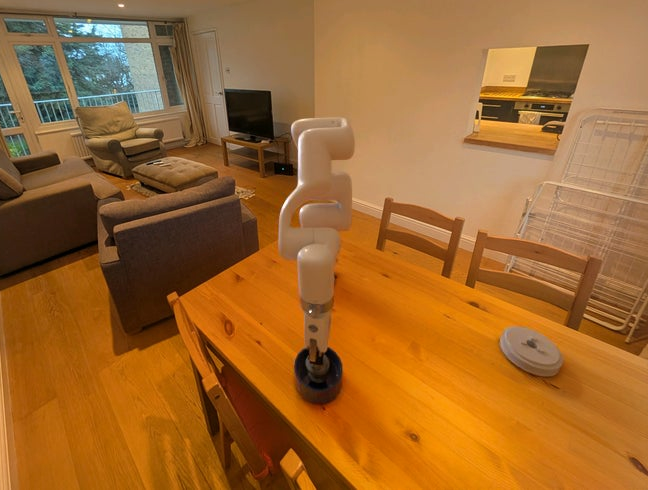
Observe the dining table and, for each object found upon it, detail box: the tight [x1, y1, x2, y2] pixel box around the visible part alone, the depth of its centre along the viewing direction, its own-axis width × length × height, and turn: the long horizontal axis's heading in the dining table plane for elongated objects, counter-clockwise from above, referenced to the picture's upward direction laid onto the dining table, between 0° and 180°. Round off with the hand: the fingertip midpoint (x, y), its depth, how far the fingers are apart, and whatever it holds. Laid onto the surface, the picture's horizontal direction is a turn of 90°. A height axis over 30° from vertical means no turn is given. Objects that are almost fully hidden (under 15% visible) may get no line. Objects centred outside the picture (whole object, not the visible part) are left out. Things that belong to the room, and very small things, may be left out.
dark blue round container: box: [293, 346, 344, 406], centre depth 74 cm, size 12×12×6 cm
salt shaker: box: [306, 348, 330, 383], centre depth 72 cm, size 6×6×12 cm
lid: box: [499, 325, 564, 378], centre depth 77 cm, size 13×13×5 cm
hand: (317, 354), depth 71 cm, fingers closed on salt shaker, 3 cm apart
